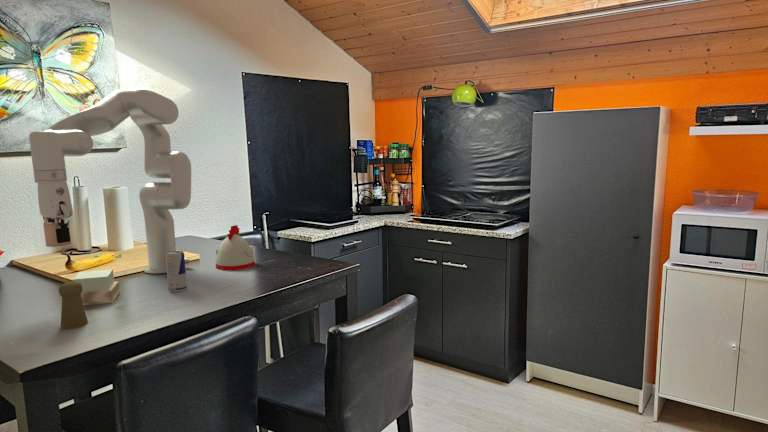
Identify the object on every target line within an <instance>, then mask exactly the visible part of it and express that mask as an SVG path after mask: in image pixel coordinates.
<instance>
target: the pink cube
mask: <svg viewBox="0 0 768 432" xmlns="http://www.w3.org/2000/svg"><path fill="white" fill-rule="evenodd" d="M56 229H57V226H56V223H55V222H51V223H46V224H44V223H43V234H44V240H45V245H46V246H45V247H48V248H49V247H50V248H51V247H52V248H53V247H55V248H56V247H57V248H58V247H63V246H64V247H65V246H68V245H71V244H72V238H71V236H70V242H64V243H57V237H56ZM69 232H70V233H71V230H70V228H69Z"/></svg>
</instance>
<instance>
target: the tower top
mask: <svg viewBox="0 0 768 432" xmlns="http://www.w3.org/2000/svg"><path fill="white" fill-rule="evenodd" d="M71 282H79V283H81V285H82V288H83V290H82V292H92V291H102V290H109V289H110V287H111V286H112V284H113V283H114V282H115V279H114V269H102V270H91V271H90V270H87V271H79V272H78V273H77V274H76V275H75V276H74V277H73V278H72V281H71Z"/></svg>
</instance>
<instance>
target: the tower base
mask: <svg viewBox="0 0 768 432" xmlns="http://www.w3.org/2000/svg"><path fill="white" fill-rule="evenodd" d="M120 293H121V289H120V281H115V280H114V283H113V284H112V286H111V287H110V289H109V290H102V291H92V292H82V293H81V298H82V302H83V305H84V306H89V305H90V306H91V305H92V304H93V305H101V304H102V303H103V304H112V303H114V301H115V300H116V299H117V297H118V296H119V294H120ZM117 295H118V296H117ZM93 305H92V306H93Z"/></svg>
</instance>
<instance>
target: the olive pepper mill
mask: <svg viewBox="0 0 768 432" xmlns="http://www.w3.org/2000/svg"><path fill="white" fill-rule="evenodd" d="M82 290H83V288H82V285H81V283H79V282H73V281H67V282H64V283H62V284H60V285H59V287H58V294H59V296H60V297H61V314H60V316H61V317H60V329H63V330H70V329H71V330H72V329H78V328H82V327H84V326H87V325H88V324H89V322H88V321H89V320H88V317H87V314H86V313H87V312H86V310H85V305H83V302H82V298H81V293H82Z"/></svg>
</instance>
